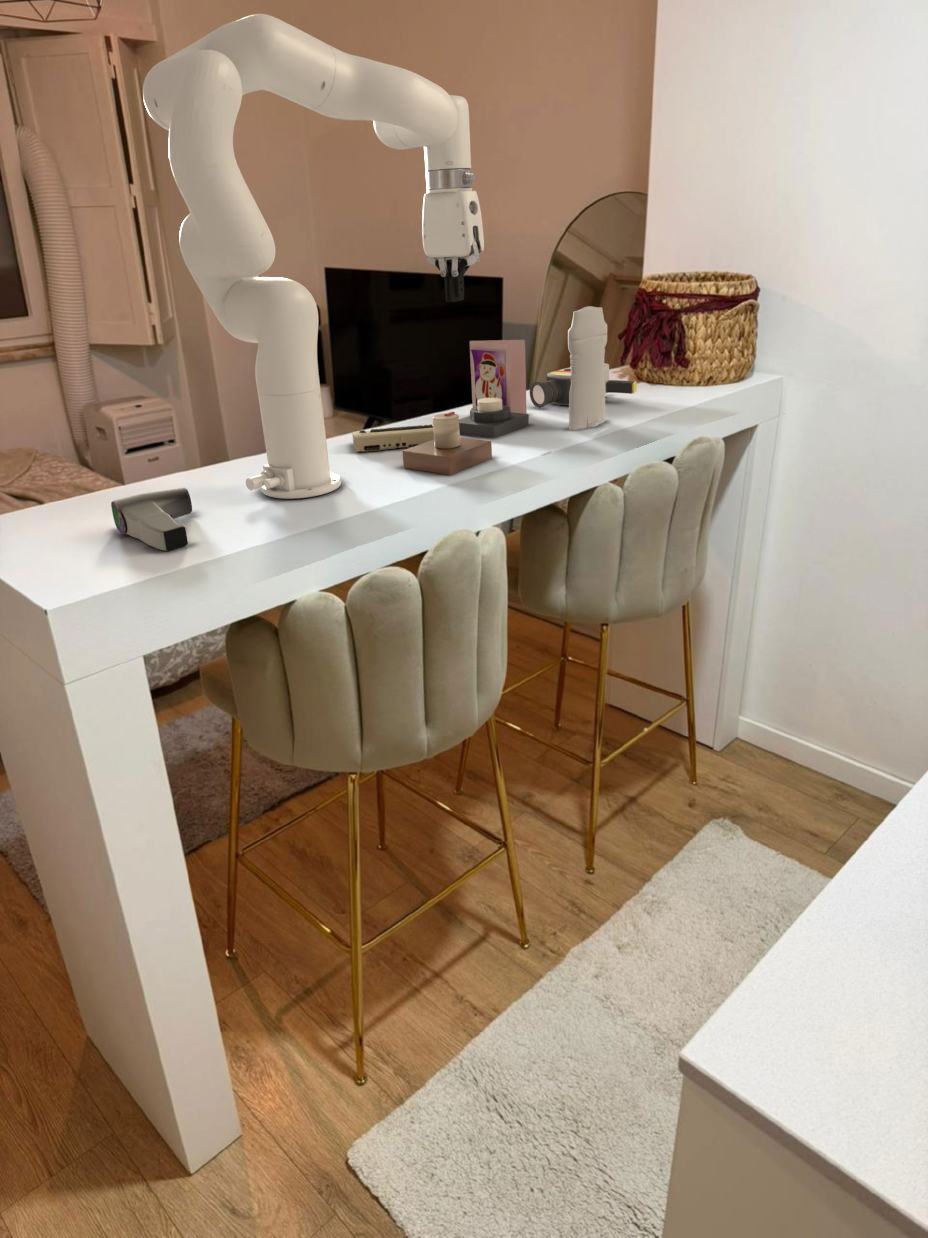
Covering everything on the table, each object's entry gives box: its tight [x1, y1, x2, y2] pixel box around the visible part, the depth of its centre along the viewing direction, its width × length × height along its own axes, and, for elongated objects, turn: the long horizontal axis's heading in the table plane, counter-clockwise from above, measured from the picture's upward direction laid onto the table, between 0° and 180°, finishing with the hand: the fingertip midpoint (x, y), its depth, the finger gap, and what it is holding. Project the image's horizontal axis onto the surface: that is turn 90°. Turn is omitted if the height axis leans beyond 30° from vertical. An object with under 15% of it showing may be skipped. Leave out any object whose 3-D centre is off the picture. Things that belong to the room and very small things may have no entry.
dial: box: [432, 411, 461, 449], centre depth 150 cm, size 4×4×5 cm
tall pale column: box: [567, 305, 608, 431], centre depth 168 cm, size 11×4×22 cm, turn 132°
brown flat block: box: [402, 436, 493, 476], centre depth 151 cm, size 12×10×3 cm
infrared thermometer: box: [110, 487, 193, 552], centre depth 125 cm, size 5×12×15 cm
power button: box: [477, 398, 502, 412], centre depth 172 cm, size 5×5×2 cm
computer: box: [351, 424, 434, 452], centre depth 165 cm, size 16×8×3 cm, turn 99°
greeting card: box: [469, 339, 528, 414], centre depth 181 cm, size 11×7×15 cm, turn 42°
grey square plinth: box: [459, 405, 530, 439], centre depth 173 cm, size 12×10×4 cm
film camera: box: [529, 363, 638, 409], centre depth 189 cm, size 7×19×15 cm
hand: (454, 300), depth 153 cm, fingers closed
